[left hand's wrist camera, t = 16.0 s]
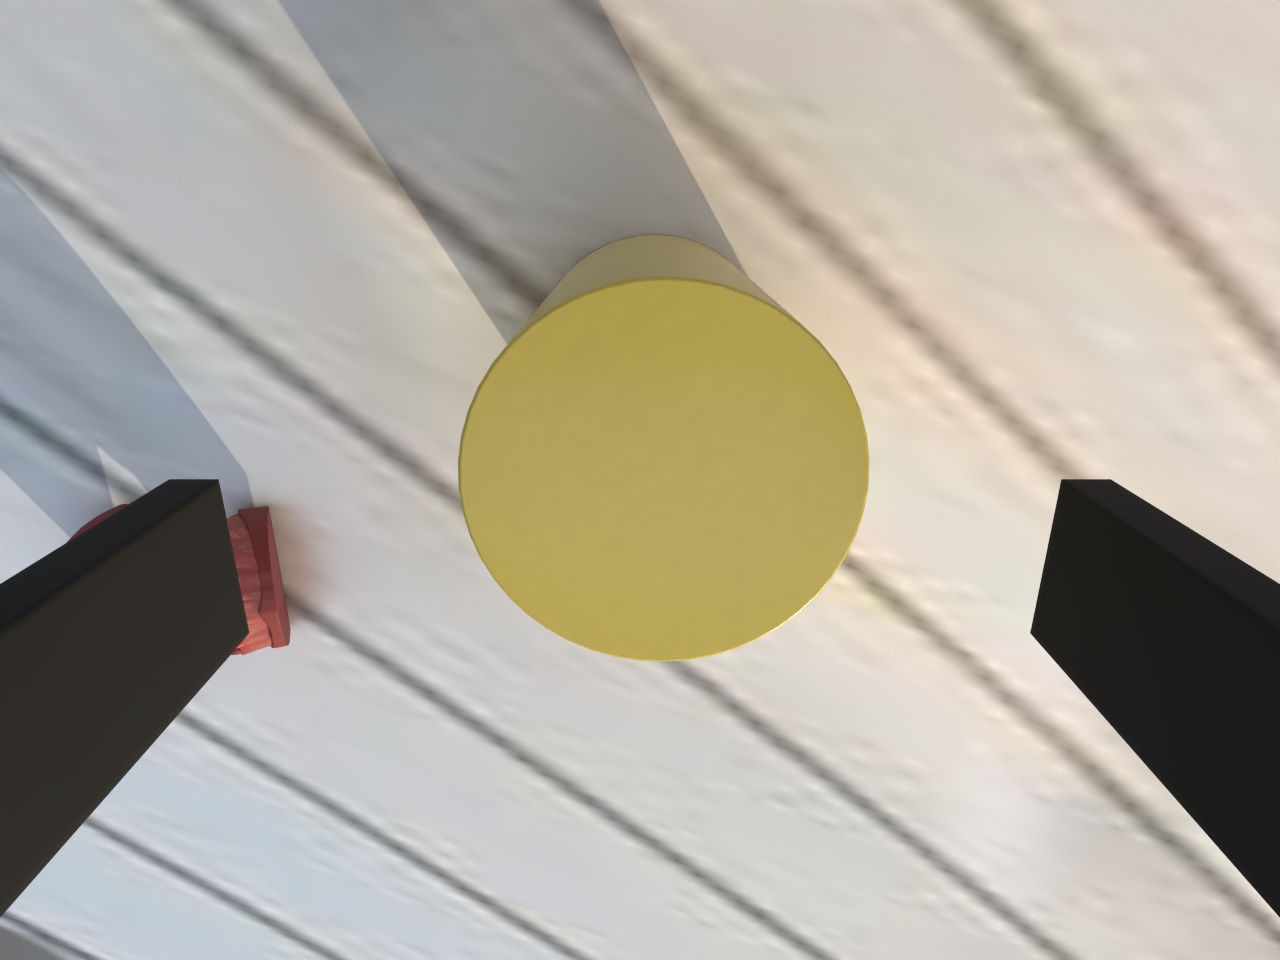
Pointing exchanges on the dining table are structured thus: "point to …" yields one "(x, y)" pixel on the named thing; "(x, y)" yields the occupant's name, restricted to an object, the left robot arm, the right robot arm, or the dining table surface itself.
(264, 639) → the dental model
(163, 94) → the dining table surface
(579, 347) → the cylinder
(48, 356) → the dining table surface
